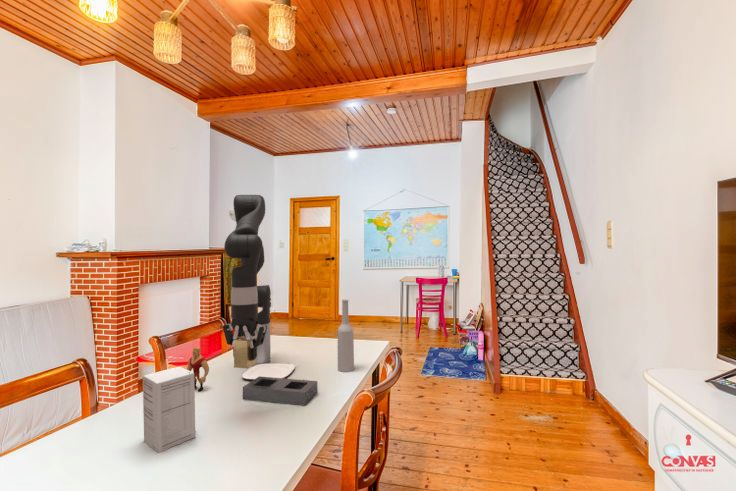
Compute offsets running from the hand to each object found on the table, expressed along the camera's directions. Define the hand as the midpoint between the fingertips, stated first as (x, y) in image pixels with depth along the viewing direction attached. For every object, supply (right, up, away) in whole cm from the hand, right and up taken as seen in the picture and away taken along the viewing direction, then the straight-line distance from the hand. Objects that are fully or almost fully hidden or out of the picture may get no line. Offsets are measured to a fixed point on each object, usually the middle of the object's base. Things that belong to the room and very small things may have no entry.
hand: (245, 359), depth 106 cm
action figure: (-24, -17, +19) cm, 35 cm away
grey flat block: (+8, -16, +12) cm, 22 cm away
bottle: (+28, -16, +38) cm, 50 cm away
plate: (-2, -17, +34) cm, 39 cm away
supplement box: (-15, -16, -14) cm, 26 cm away
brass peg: (0, -2, 0) cm, 2 cm away
